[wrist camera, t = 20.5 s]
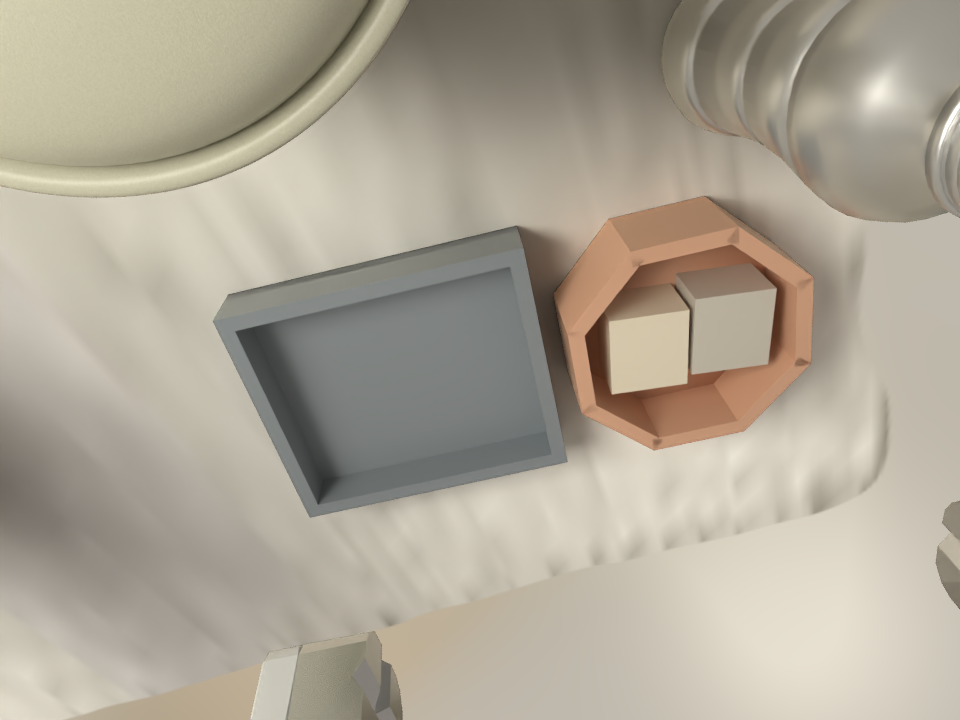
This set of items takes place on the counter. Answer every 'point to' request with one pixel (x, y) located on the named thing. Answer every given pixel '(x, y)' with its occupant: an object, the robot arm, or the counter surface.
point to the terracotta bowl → (655, 260)
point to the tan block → (644, 339)
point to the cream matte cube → (727, 317)
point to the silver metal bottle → (831, 94)
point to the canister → (170, 86)
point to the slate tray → (399, 372)
